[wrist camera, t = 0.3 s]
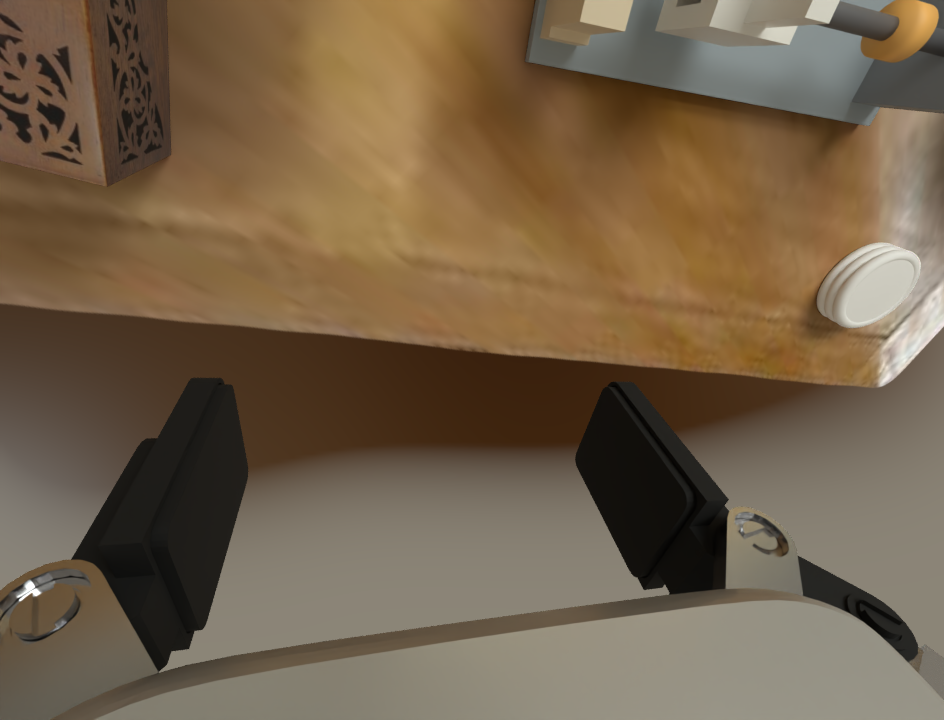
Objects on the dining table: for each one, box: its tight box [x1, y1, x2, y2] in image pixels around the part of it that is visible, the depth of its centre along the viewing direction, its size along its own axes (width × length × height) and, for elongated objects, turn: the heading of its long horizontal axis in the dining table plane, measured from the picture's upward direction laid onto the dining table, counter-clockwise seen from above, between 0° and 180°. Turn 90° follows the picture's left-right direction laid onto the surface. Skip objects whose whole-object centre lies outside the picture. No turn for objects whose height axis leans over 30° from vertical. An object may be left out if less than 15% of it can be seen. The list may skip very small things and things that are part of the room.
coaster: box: [817, 242, 921, 328], centre depth 51 cm, size 10×10×4 cm
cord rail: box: [525, 0, 944, 126], centre depth 29 cm, size 34×11×12 cm, turn 81°
